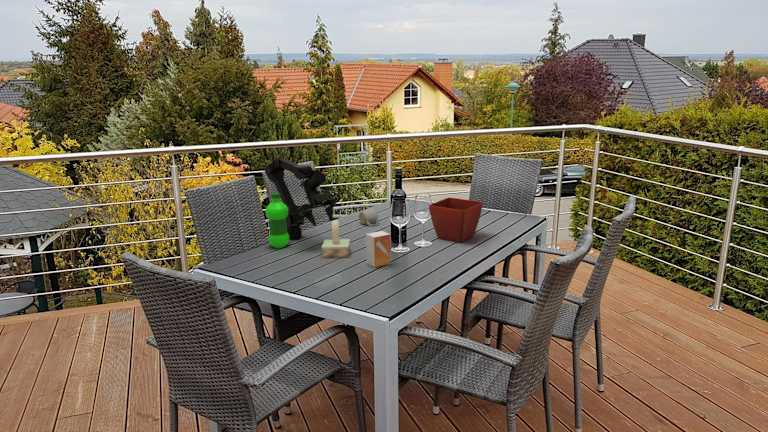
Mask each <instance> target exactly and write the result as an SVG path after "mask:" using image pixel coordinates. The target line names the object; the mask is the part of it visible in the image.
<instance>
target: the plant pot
mask: <svg viewBox="0 0 768 432" xmlns="http://www.w3.org/2000/svg"><path fill="white" fill-rule="evenodd" d="M483 204H484V203H483V201H477V200H471V199H463V198H457V197H447V198H444V199H442V200H439V201H436V202H433V203H431V204H428V209H429V214H430V218H431V223H432V225H433V228H434V232H435V233H436V236H437V238H438V239H439V240H445V241H450V242H454V243H460V244H461V243H463V242H464V241H468V240H469V239H470V238H473V237H474V235H475V233H476V231H477V227H478V226H479V222H480V218H481V214H482V210H483Z"/></svg>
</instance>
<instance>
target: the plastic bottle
mask: <svg viewBox="0 0 768 432" xmlns="http://www.w3.org/2000/svg"><path fill="white" fill-rule="evenodd" d="M270 199H272V200H271V202H270V203H269V204H268V205H267V206H266V207H265V211H264V213H265V217H266V218H267V219H268V223H269V224H268V225H269V235H268V239H267V240H268V241H267V242H268V243H269V244H270V246H272V247H273V248H276V249H282V248H285V247H286V246H287V245H288V244H289V242H290V239H289V234H288V233H287V227H286V217H287V216H288V208H287V206H286V205H285V204H284V203H283V201H282V200H281V201H280V199H281V197H280V193H278V192H273V193H270Z"/></svg>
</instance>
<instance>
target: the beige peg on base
mask: <svg viewBox="0 0 768 432" xmlns="http://www.w3.org/2000/svg"><path fill="white" fill-rule="evenodd" d="M331 231H332V232H331V235H332V238H331V239H324V241H323V243H322V245H321V250H322V249H348V247H349V243H350V242H351V239H350V238H347V239H346V238H342V239H341V238H340V223H339V220H338V219H337V220H334V219H333V221H332V222H331ZM350 244H351V243H350Z"/></svg>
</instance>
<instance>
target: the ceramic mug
mask: <svg viewBox="0 0 768 432" xmlns="http://www.w3.org/2000/svg"><path fill="white" fill-rule="evenodd" d="M358 220H359V223H360V224H362V225H368V226H370V227H376V226H378V223H379V214H378V212H377V210H376V209H375V208H369V209H366V210H362V211H360V212H359V214H358Z"/></svg>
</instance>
